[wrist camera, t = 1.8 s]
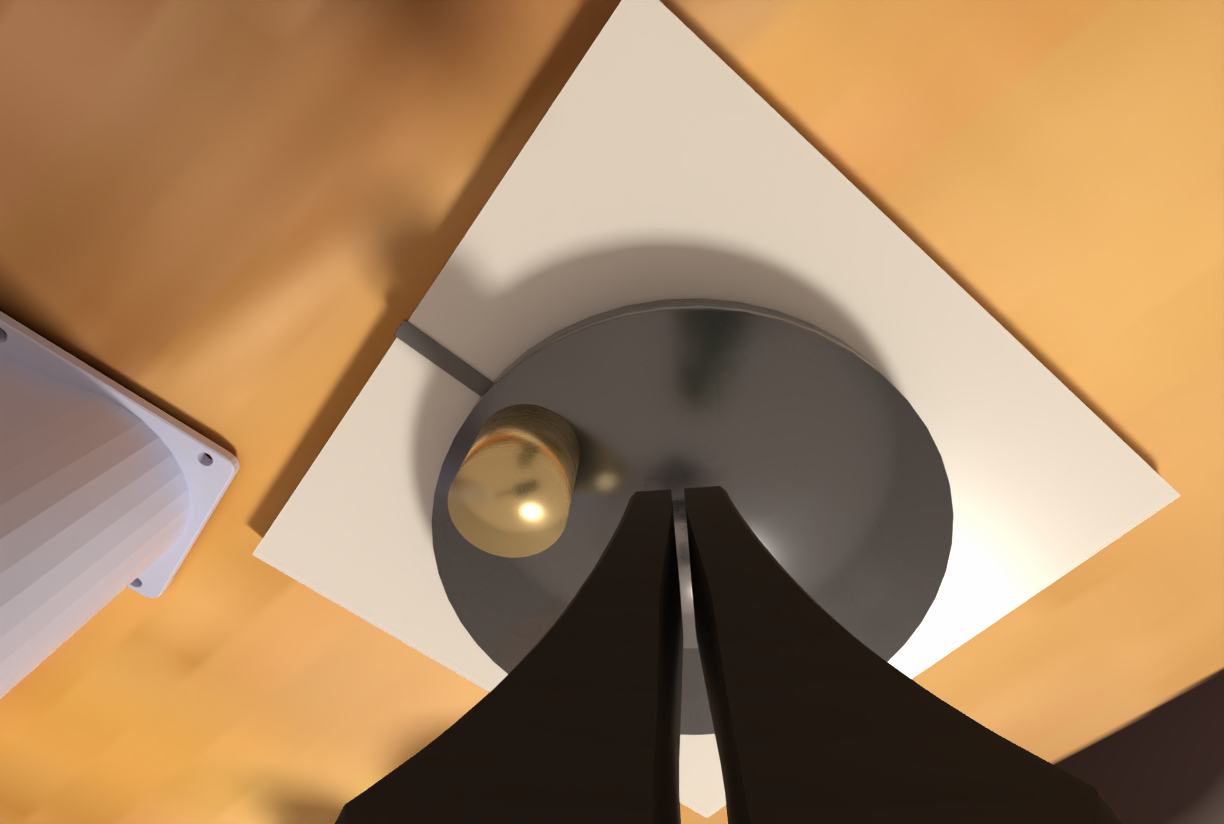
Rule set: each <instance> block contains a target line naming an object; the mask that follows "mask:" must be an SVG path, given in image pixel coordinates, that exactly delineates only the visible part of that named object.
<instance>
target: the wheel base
mask: <svg viewBox="0 0 1224 824" xmlns="http://www.w3.org/2000/svg"><path fill="white" fill-rule="evenodd" d="M695 298H704V299H714V300H725V301H736V302H742V303H747V304H751V305H755V306H760V307H764V308H769V309H773V310H777V311H779V312H782V313H785V314H787V315H790V316H793V317H796V318H798V319H801V320H804V321H806V322H809V323H811V324H813V325H815V326H817V327H819V328H820V329H822V330H824V331H826V332H828V333H830V334H832V335H833V336H835V337H837V338H839V339H841V340H842V341H844V342H845V343H846V344H848V345H849V346H850V347H852V348H853V349H855V350H856V351H857V352H859V353H860V354H861V355H863V356H864V357H865V358H867V359H868V360H869V361H870V362H871V363H872V364H873V365H874V366H875V367H876V368H877V369H878V370H879V371H880V372H881V373H882V374H883V375H884V376H885V377H886V378H887V379H888V380H889V381H890V382H891V383H892V384H893V385H894V386H895V387H896V388H897V389H898V390H899V391H900V393H901V394H902V395H903V396H904V397H905V398H906V399H907V400H908V401H909V403H910V404H911V406H912V407H913V408H914V410H915V411H916V413H917V414H918V415H919V417H920V418H921V419H922V421H923V422H924V424H925V425H926V426H927V428H928V430H929V432H930V434H931V436H932V438H933V440H934V442H935V444H936V446H937V448H938V450H939V452H940V454H941V456H942V460H943V463H944V466H945V470H946V473H947V477H948V480H949V483H950V488H951V497H952V506H953V514H954V517H953V536H952V547H951V551H950V556H949V560H948V565H947V569H946V573H945V575H944V578H943V581H942V583H941V586H940V588H939V591H938V593H937V596H936V598H935V600H934V602H933V604H932V605H931V607H930V609H929V611H928V612H927V614H926V616H925V618H924V619H923V621H922V623H921V624H920V625H919V627H918V628H917V629H916V631H915V632H914V633H913V635H912V636H911V637H910V638H909V640H908V641H907V642H906V644H905V645H904V646H903V647H902V648H901V649H900V650H899V651H898V652H897V653H896V654H895V655H894V656H893V657H892V658H891V659H890V660H889V661H888V663H889V664H891V665H892V666H894V667H895V668H896V669H898V670H899V671H901V672H902V673H903V674H905V675H906V676H908V677H909V678H910V679H912V678H914V677H915V676H916V675H918V674H919V673H921V672H922V671H924V670H925V669H927V668H928V667H930V666H931V665H933V664H934V663H936V662H937V661H938V660H940V659H941V658H943V657H944V656H946V655H947V654H949V653H950V652H952V651H953V650H955V649H956V648H958V647H959V646H961V645H962V644H963V643H965V642H966V641H968V640H969V639H971V638H972V637H974V636H975V635H977V634H978V633H980V632H981V631H983V630H984V629H986V628H987V627H988V626H990V625H991V624H993V623H994V622H996V621H997V620H999V619H1000V618H1002V617H1003V616H1005V615H1006V614H1008V613H1009V612H1011V611H1012V610H1013V609H1015V608H1016V607H1018V606H1019V605H1021V604H1022V603H1024V602H1025V601H1027V600H1028V599H1030V598H1031V597H1033V596H1034V595H1036V594H1037V593H1038V592H1040V591H1041V590H1043V589H1044V588H1046V587H1047V586H1049V585H1050V584H1052V583H1053V582H1055V581H1056V580H1058V579H1059V578H1060V577H1062V576H1063V575H1065V574H1066V573H1068V572H1069V571H1071V570H1072V569H1074V568H1075V567H1077V566H1078V565H1080V564H1081V563H1083V562H1084V561H1085V560H1087V559H1088V558H1090V557H1091V556H1093V555H1094V554H1096V553H1097V552H1099V551H1100V550H1102V549H1103V548H1105V547H1106V546H1108V545H1109V544H1110V543H1112V542H1113V541H1115V540H1116V539H1118V538H1119V537H1121V536H1122V535H1124V534H1125V533H1127V532H1128V531H1130V530H1131V529H1133V528H1134V527H1135V526H1137V525H1138V524H1140V523H1141V522H1143V521H1144V520H1146V519H1147V518H1149V517H1150V516H1152V515H1153V514H1155V513H1156V512H1157V511H1159V510H1160V509H1162V508H1163V507H1165V506H1166V505H1168V504H1169V503H1171V502H1172V501H1174V500H1175V499H1177V498H1178V497H1180V496H1181V495H1180V494H1179V493H1177V492H1176V491H1175V490H1174V489H1173V488H1172V487H1171V486H1170V485H1169V484H1168V483H1167V482H1166V481H1165V480H1164V479H1163V478H1162V477H1161V476H1160V475H1159V474H1157V473H1156V472H1155V471H1154V470H1153V469H1152V468H1151V467H1150V466H1149V465H1148V464H1147V463H1146V462H1145V461H1144V460H1143V459H1142V458H1141V457H1140V456H1139V455H1137V454H1136V453H1135V452H1134V451H1133V450H1132V449H1131V448H1130V447H1129V446H1128V445H1127V444H1126V443H1125V442H1124V441H1123V440H1122V439H1121V438H1120V437H1118V436H1117V435H1116V434H1115V433H1114V432H1113V431H1112V430H1111V429H1110V428H1109V427H1108V426H1107V425H1106V424H1105V423H1104V422H1103V421H1102V420H1101V419H1100V418H1098V417H1097V416H1096V415H1095V414H1094V413H1093V412H1092V411H1091V410H1090V409H1089V408H1088V407H1087V406H1086V405H1085V404H1084V403H1083V402H1082V401H1081V400H1080V399H1078V398H1077V397H1076V396H1075V395H1074V394H1073V393H1072V392H1071V391H1070V390H1069V389H1068V388H1067V387H1066V386H1065V385H1064V384H1063V383H1062V382H1061V381H1060V380H1058V379H1057V378H1056V377H1055V376H1054V375H1053V374H1052V373H1051V372H1050V371H1049V370H1048V369H1047V368H1046V367H1045V366H1044V365H1043V364H1042V363H1041V362H1040V361H1038V360H1037V359H1036V358H1035V357H1034V356H1033V355H1032V354H1031V353H1030V352H1029V351H1028V350H1027V349H1026V348H1025V347H1024V346H1023V345H1022V344H1021V343H1020V342H1018V341H1017V340H1016V339H1015V338H1014V337H1013V336H1012V335H1011V334H1010V333H1009V332H1008V331H1007V330H1006V329H1005V328H1004V327H1003V326H1002V325H1001V324H999V323H998V322H997V321H996V320H995V319H994V318H993V317H992V316H991V315H990V314H989V313H988V312H987V311H986V310H985V309H984V308H983V307H982V306H981V305H979V304H978V303H977V302H976V301H975V300H974V299H973V298H972V297H971V296H970V295H969V294H968V293H967V292H966V291H965V290H964V289H963V288H962V287H961V286H959V285H958V284H957V283H956V282H955V281H954V280H953V279H952V278H951V277H950V276H949V275H948V274H947V273H946V272H945V271H944V270H943V269H942V268H941V267H939V266H938V265H937V264H936V263H935V262H934V261H933V260H932V259H931V258H930V257H929V256H928V255H927V254H926V253H925V252H924V251H923V250H922V249H921V248H919V247H918V246H917V245H916V244H915V243H914V242H913V241H912V240H911V239H910V238H909V237H908V236H907V235H906V234H905V233H904V232H903V231H902V230H900V229H899V228H898V227H897V226H896V225H895V224H894V223H893V222H892V221H891V220H890V219H889V218H888V217H887V216H886V215H885V214H884V213H883V212H882V211H880V210H879V209H878V208H877V207H876V206H875V205H874V204H873V203H872V202H871V201H870V200H869V199H868V198H867V197H866V196H865V195H864V194H863V193H862V192H860V191H859V190H858V189H857V188H856V187H855V186H854V185H853V184H852V183H851V182H850V181H849V180H848V179H847V178H846V177H845V176H844V175H843V174H842V173H840V172H839V171H838V170H837V169H836V168H835V167H834V166H833V165H832V164H831V163H830V162H829V161H828V160H827V159H826V158H825V157H824V156H823V155H822V154H820V153H819V152H818V151H817V150H816V149H815V148H814V147H813V146H812V145H811V144H810V143H809V142H808V141H807V140H806V139H805V138H804V137H803V136H802V135H800V134H799V133H798V132H797V131H796V130H795V129H794V128H793V127H792V126H791V125H790V124H789V123H788V122H787V121H786V120H785V119H784V118H783V117H781V116H780V115H779V114H778V113H777V112H776V111H775V110H774V109H773V108H772V107H771V106H770V105H769V104H768V103H767V102H766V101H765V100H764V99H763V98H761V97H760V96H759V95H758V94H757V93H756V92H755V91H754V90H753V89H752V88H751V87H750V86H749V85H748V84H747V83H746V82H745V81H744V80H743V79H741V78H740V77H739V76H738V75H737V74H736V73H735V72H734V71H733V70H732V69H731V68H730V67H729V66H728V65H727V64H726V63H725V62H724V61H723V60H721V59H720V58H719V57H718V56H717V55H716V54H715V53H714V52H713V51H712V50H711V49H710V48H709V47H708V46H707V45H706V44H705V43H704V42H703V41H701V40H700V39H699V38H698V37H697V36H696V35H695V34H694V33H693V32H692V31H691V30H690V29H689V28H688V27H687V26H686V25H685V24H684V23H682V22H681V21H680V20H679V19H678V18H677V17H676V16H675V15H674V14H673V13H672V12H671V11H670V10H669V9H668V8H667V7H666V6H665V5H664V4H662V3H661V2H660V1H659V0H621V2H620V3H619V5H618V6H617V8H616V9H615V11H614V12H613V14H612V15H611V17H610V18H609V20H608V21H607V23H606V24H605V26H604V27H603V29H602V30H601V32H600V33H599V35H598V36H597V38H596V39H595V41H594V42H593V44H592V45H591V47H590V48H589V50H588V51H587V53H586V54H585V56H584V57H583V59H582V60H581V62H580V63H579V65H578V66H577V68H576V69H575V71H574V72H573V74H572V75H571V77H570V78H569V80H568V81H567V83H566V84H565V86H564V87H563V89H562V90H561V92H560V93H559V95H558V96H557V98H556V99H555V101H554V102H553V104H552V105H551V107H550V108H549V110H548V111H547V113H546V114H545V116H544V117H543V119H542V120H541V122H540V123H539V125H538V126H537V128H536V129H535V131H534V133H533V134H532V136H531V137H530V139H529V140H528V142H527V143H526V145H525V146H524V148H523V149H522V151H521V152H520V154H519V155H518V157H517V158H516V160H515V161H514V163H513V164H512V166H511V167H510V169H509V170H508V172H507V173H506V175H505V176H504V178H503V179H502V181H501V182H500V184H499V185H498V187H497V188H496V190H495V191H494V193H493V194H492V196H491V197H490V199H489V200H488V202H487V203H486V205H485V206H484V208H483V209H482V211H481V212H480V214H479V215H478V217H477V218H476V220H475V221H474V223H473V224H472V226H471V227H470V229H469V230H468V232H467V233H466V235H465V236H464V238H463V239H462V241H461V242H460V244H459V245H458V247H457V248H456V250H455V251H454V253H453V254H452V256H451V257H450V259H449V260H448V262H447V263H446V265H445V266H444V268H443V269H442V271H441V272H440V274H439V275H438V277H437V278H436V280H435V281H434V283H433V284H432V286H431V287H430V289H429V290H428V292H427V293H426V295H425V296H424V298H423V299H422V301H421V302H420V304H419V305H418V307H417V308H416V310H415V311H414V313H413V314H412V316H411V317H410V319H409V320H408V321H407V320H405V319H404V320H403V322H402V323H401V325H400V326H399V328H398V329H397V331H396V332H395V334H394V336H396V337H397V338H396V340H395V341H394V343H393V344H392V346H391V347H390V349H389V350H388V352H387V353H386V355H385V356H384V358H383V359H382V361H381V362H380V364H379V365H378V367H377V368H376V370H375V371H374V373H373V374H372V376H371V377H370V379H369V380H368V382H367V383H366V385H365V386H364V388H363V389H362V391H361V392H360V394H359V395H358V397H357V398H356V400H355V401H354V403H353V404H352V406H351V407H350V409H349V410H348V412H347V413H346V415H345V416H344V418H343V419H342V421H341V422H340V424H339V425H338V427H337V428H336V430H335V431H334V433H333V434H332V436H331V437H330V439H329V440H328V442H327V443H326V445H325V446H324V448H323V449H322V451H321V452H320V454H319V455H318V457H317V458H316V460H315V461H314V463H313V464H312V466H311V467H310V469H309V470H308V472H307V473H306V475H305V476H304V478H303V479H302V481H301V482H300V484H299V485H298V487H297V488H296V490H295V491H294V493H293V494H292V496H291V497H290V499H289V500H288V502H287V503H286V505H285V506H284V508H283V509H282V511H281V512H280V514H279V515H278V517H277V518H276V520H275V521H274V523H273V524H272V526H271V527H270V529H269V530H268V532H267V533H266V535H265V536H264V538H263V539H262V541H261V542H260V544H259V545H258V547H257V548H256V550H255V551H254V553H253V554H252V555H254V556H255V557H257V558H259V559H261V560H262V561H264V562H266V563H267V564H269V565H271V566H273V567H274V568H276V569H278V570H279V571H281V572H283V573H285V574H286V575H288V576H290V577H292V578H293V579H295V580H297V581H298V582H300V583H302V584H304V585H305V586H307V587H309V588H311V589H312V590H314V591H316V592H317V593H319V594H321V595H323V596H324V597H326V598H328V599H330V600H331V601H333V602H335V603H336V604H338V605H340V606H342V607H343V608H345V609H347V610H348V611H350V612H352V613H354V614H355V615H357V616H359V617H361V618H362V619H364V620H366V621H367V622H369V623H371V624H373V625H374V626H376V627H378V628H380V629H381V630H383V631H385V632H386V633H388V634H390V635H392V636H393V637H395V638H397V639H399V640H400V641H402V642H404V643H405V644H407V645H409V646H411V647H412V648H414V649H416V650H417V651H419V652H421V653H423V654H424V655H426V656H428V657H430V658H431V659H433V660H435V661H436V662H438V663H440V664H442V665H443V666H445V667H447V668H449V669H450V670H452V671H454V672H455V673H457V674H459V675H461V676H462V677H464V678H466V679H467V680H469V681H471V682H473V683H474V684H476V685H478V686H480V687H481V688H483V689H485V690H486V691H488V692H491V691H492V690H493V689H494V688H495V687H496V686H497V685H498V684H499V683H500V682H501V681H502V680H503V679H504V678H505V677H506V676H507V675H508V674H507V673H506V672H505V671H504V670H503V669H501V668H500V667H499V666H498V665H497V664H495V663H494V662H493V661H492V660H491V659H490V657H489V656H488V655H487V654H486V653H485V652H484V651H483V650H482V649H481V648H480V647H479V646H478V645H477V644H476V642H475V641H474V640H473V638H472V637H471V636H470V634H469V633H468V632H467V630H466V629H465V627H464V626H463V625H462V623H461V622H460V620H459V618H458V616H457V615H456V613H455V611H454V609H453V607H452V605H451V604H450V602H449V600H448V598H447V595H446V593H445V590H444V587H443V584H442V582H441V579H440V576H439V574H438V569H437V564H436V560H435V555H434V550H433V539H432V511H433V502H434V493H435V489H436V485H437V481H438V478H439V474H440V470H441V467H442V464H443V462H444V459H445V457H446V455H447V453H448V451H449V448H450V446H451V444H452V442H453V440H454V437H455V436H456V434H457V432H458V431H459V429H460V428H461V426H462V424H463V423H464V421H465V420H466V418H467V417H468V415H469V413H470V412H471V410H472V409H473V407H474V406H475V404H476V403H477V401H478V400H479V398H480V397H481V395H482V394H483V393H484V392H485V390H486V389H487V388H488V387H489V386H490V385H491V384H492V383H493V382H494V380H495V379H496V378H497V377H498V376H499V375H500V374H501V373H502V371H503V370H505V369H506V368H507V367H508V366H509V365H511V364H512V363H513V362H514V361H515V360H517V359H518V358H519V357H520V356H521V355H523V354H524V353H525V352H526V351H527V350H528V349H530V348H532V347H533V346H535V345H536V344H538V343H540V342H541V341H543V340H544V339H546V338H548V337H549V336H551V335H553V334H554V333H556V332H557V331H559V330H562V329H564V328H566V327H568V326H570V325H573V324H575V323H577V322H579V321H582V320H584V319H586V318H588V317H590V316H594V315H597V314H600V313H604V312H607V311H610V310H614V309H617V308H620V307H624V306H628V305H634V304H640V303H646V302H652V301H658V300H667V299H695ZM679 798H680V803H681V804H683V805H685V806H687V807H688V808H690V809H692V810H693V811H695V812H697V813H699V814H700V815H702V816H704V817H706V818H708V817H709V816H711V815H712V814H714V813H715V812H717V811H718V810H719V809H721V808H722V807H724V806H725V805H726V797H725V790H724V783H723V777H722V770H721V763H720V758H719V753H718V748H717V743H716V737H715V734H706V735H680V755H679Z"/></svg>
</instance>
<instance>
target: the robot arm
mask: <svg viewBox="0 0 1224 824" xmlns="http://www.w3.org/2000/svg"><path fill="white" fill-rule="evenodd" d="M2 329H3V330H4V331H5V332H6V334H7V335H6V334H5V333H4V332H3V330H2ZM205 453H207V454H209V455H210V456H211V457H212V459H213V460H212V459H209V458H208V457H207V456H206V454H205ZM238 470H239V462H238V460H237V458H236V457H235V456H234V455H233V454H232V453H230V452H229V451H227V450H225V449H224V448H222V447H221V446H219V445H217V444H216V443H214V442H212V441H211V440H209V439H208V438H206V437H204V436H203V435H201V434H199V433H198V432H196V431H195V430H193V429H191V428H190V427H188V426H186V425H185V424H183V423H182V422H180V421H178V420H177V419H175V418H173V417H172V416H170V415H169V414H167V413H165V412H164V411H162V410H160V409H159V408H157V407H156V406H154V405H152V404H151V403H149V402H147V401H146V400H144V399H143V398H141V397H139V396H138V395H136V394H134V393H133V392H131V391H130V390H128V389H126V388H125V387H123V386H121V385H120V384H118V383H116V382H115V381H113V380H112V379H110V378H108V377H107V376H105V375H103V374H102V373H100V372H99V371H97V370H95V369H94V368H92V367H90V366H89V365H87V364H86V363H84V362H82V361H81V360H79V359H77V358H76V357H74V356H73V355H71V354H69V353H68V352H66V351H64V350H63V349H61V348H60V347H58V346H56V345H55V344H53V343H51V342H50V341H48V340H47V339H45V338H43V337H42V336H40V335H38V334H37V333H35V332H34V331H32V330H30V329H29V328H27V327H25V326H24V325H22V324H21V323H19V322H17V321H16V320H14V319H12V318H11V317H9V316H7V315H6V314H4V313H3V312H1V311H0V699H1V698H2V697H3V696H4V695H5V694H7V693H8V692H9V691H10V690H11V689H12V688H13V687H14V686H16V685H17V684H18V683H19V682H20V681H21V680H22V679H23V678H25V677H26V676H27V675H28V674H29V673H30V672H31V671H32V670H34V669H35V668H36V667H37V666H38V665H39V664H40V663H41V662H43V661H44V660H45V659H46V658H47V657H48V656H49V655H50V654H52V653H53V652H54V651H55V650H56V649H57V648H58V647H59V646H61V645H62V644H63V643H64V642H65V641H66V640H67V639H68V638H70V637H71V636H72V635H73V634H74V633H75V632H76V631H78V630H79V629H80V628H81V627H82V626H83V625H84V624H85V623H87V622H88V621H89V620H90V619H91V618H92V617H93V616H94V615H96V614H97V613H98V612H99V611H100V610H101V609H102V608H103V607H105V606H106V605H107V604H108V603H109V602H110V601H111V600H112V599H114V598H115V597H116V596H117V595H118V594H119V593H120V592H121V591H123V590H124V589H125V588H126V587H128V588H130V589H132V590H134V591H136V592H138V593H139V594H141V595H143V596H145V597H148V598H156V597H159V596H160V595H161V594H162V593H163V592H164V591H165V590H166V589H167V587H168V586H169V584H170V582H171V581H172V579H173V578H174V576H175V574H176V573H177V571H178V569H179V568H180V566H181V564H182V563H183V561H184V559H185V558H186V556H187V554H188V553H189V551H190V549H191V548H192V546H193V544H194V543H195V541H196V539H197V538H198V536H199V535H200V533H201V531H202V530H203V528H204V526H205V525H206V523H207V521H208V520H209V518H210V516H211V515H212V513H213V511H214V510H215V508H216V506H217V505H218V503H219V501H220V500H221V498H222V496H223V495H224V493H225V492H226V490H227V488H228V487H229V485H230V483H231V482H232V480H233V478H234V477H235V475H236V473H237V472H238ZM684 496H685V508H686V521H687V533H688V546H689V558H690V571H691V583H692V595H693V606H694V618H695V629H696V639H697V644H698V649H699V654H700V660H701V665H702V670H703V675H704V680H705V686H706V691H707V696H708V701H709V706H710V712H711V717H712V722H713V727H714V732H715V737H716V743H717V748H718V753H719V758H720V763H721V770H722V777H723V783H724V790H725V797H726V807H727V816H728V824H1124V822H1123V821H1122V820H1121V819H1120V818H1119V816H1118V815H1117V814H1116V813H1115V812H1114V810H1113V809H1112V808H1111V807H1110V806H1109V804H1108V803H1107V802H1106V801H1105V799H1104V798H1103V797H1102V795H1101V794H1100V792H1099V791H1098V790H1097V789H1096V788H1095V787H1093V786H1091V785H1089V784H1087V783H1086V782H1084V781H1082V780H1080V779H1078V778H1076V777H1074V776H1072V775H1071V774H1069V773H1067V772H1065V771H1063V770H1061V769H1060V768H1058V767H1056V766H1054V765H1052V764H1051V763H1049V762H1047V761H1045V760H1043V759H1041V758H1040V757H1038V756H1036V755H1034V754H1032V753H1030V752H1029V751H1027V750H1025V749H1023V748H1021V747H1019V746H1018V745H1016V744H1014V743H1012V742H1010V741H1008V740H1007V739H1005V738H1003V737H1001V736H999V735H998V734H996V733H994V732H992V731H991V730H989V729H987V728H986V727H984V726H982V725H981V724H979V723H978V722H976V721H974V720H973V719H971V718H970V717H968V716H966V715H965V714H963V713H962V712H960V711H958V710H957V709H955V708H954V707H952V706H950V705H949V704H947V703H946V702H944V701H942V700H941V699H939V698H938V697H936V696H935V695H933V694H932V693H930V692H929V691H927V690H926V689H924V688H923V687H921V686H920V685H919V684H917V683H916V682H915V681H913V680H912V679H910V678H909V677H908V676H906V675H905V674H903V673H902V672H901V671H899V670H898V669H896V668H895V667H894V666H892V665H891V664H889V663H888V662H887V661H885V660H884V659H882V658H881V657H880V656H878V655H877V654H876V653H874V652H873V651H872V650H871V649H870V648H868V647H867V646H866V645H865V644H863V643H862V642H861V641H860V640H858V639H857V638H856V637H855V636H853V635H852V634H851V633H850V632H849V631H848V630H846V629H845V628H844V627H843V626H842V625H841V624H840V623H839V622H837V621H836V620H835V619H834V618H833V617H832V616H831V615H829V614H828V613H827V612H826V611H825V610H824V609H823V608H822V607H821V606H820V605H819V604H818V603H817V602H816V601H815V600H814V599H813V598H812V597H811V596H810V595H808V594H807V592H806V591H805V590H804V589H803V588H802V587H801V586H800V585H799V584H798V583H797V582H796V581H795V580H794V579H793V578H792V577H791V576H790V575H789V574H788V573H787V571H786V570H785V569H784V568H783V567H782V566H781V565H780V564H779V563H778V561H777V560H776V559H775V558H774V557H773V555H772V554H771V553H770V552H769V551H768V549H767V548H766V547H765V546H764V545H763V543H762V542H761V541H760V540H759V539H758V537H757V536H756V535H755V533H754V532H753V531H752V530H751V528H750V527H749V525H748V524H747V523H746V521H745V520H744V519H743V517H742V516H741V514H740V513H739V511H738V510H737V508H736V507H735V505H734V504H733V502H732V500H731V499H730V497H729V495H728V493H727V491H726V490H724V489H723V488H722V487H721V486H711V487H696V488H684ZM683 639H684V636H683V622H682V608H681V594H680V581H679V570H678V558H677V547H676V536H675V525H674V514H673V503H672V492H671V489H668V490H653V491H639V492H635V493H634V494H633V495H632V496H631V497H630V499H629V502H628V505H627V507H626V510H625V512H624V514H623V516H622V519H621V521H620V523H619V525H618V527H617V528H616V530H615V532H614V534H613V536H612V538H611V540H610V542H609V543H608V545H607V547H606V548H605V550H604V552H603V553H602V555H601V557H600V559H599V560H598V562H597V564H596V565H595V567H594V569H593V570H592V572H591V573H590V575H589V576H588V577H587V579H586V580H585V582H584V583H583V585H582V586H581V588H580V589H579V591H578V592H577V593H576V595H575V596H574V598H573V599H572V601H571V602H570V603H569V605H568V606H567V607H566V609H565V610H564V611H563V613H562V614H561V615H560V617H559V618H558V619H557V620H556V622H555V623H554V624H553V625H552V627H551V628H550V629H549V630H548V631H547V632H546V634H545V635H544V636H543V637H542V638H541V640H540V641H539V642H538V643H537V644H536V645H535V646H534V648H533V649H532V650H531V651H530V652H529V653H528V654H527V655H526V656H525V657H524V658H523V659H522V660H521V661H520V662H519V663H518V665H517V666H516V667H515V668H514V669H513V670H512V671H511V672H510V673H509V674H508V675H507V676H506V677H505V678H504V679H503V680H502V681H501V682H500V683H499V684H498V685H497V686H496V687H495V688H494V689H493V690H492V691H491V692H490V693H489V694H488V695H486V696H485V697H484V698H483V699H482V700H481V701H480V702H479V703H477V704H476V705H475V706H474V707H473V708H472V709H471V710H469V711H468V712H467V713H466V714H465V715H464V716H463V717H461V718H460V719H459V720H458V721H457V722H456V723H454V724H453V725H452V726H451V727H450V728H449V729H447V730H446V731H445V732H444V733H442V734H441V735H440V736H439V737H438V738H436V739H435V740H434V741H433V742H431V743H430V744H429V745H427V746H426V747H425V748H424V749H422V750H421V751H420V752H418V753H417V754H416V755H414V756H413V757H411V758H410V759H409V760H407V761H406V762H404V763H403V764H402V765H400V766H399V767H398V768H396V769H395V770H393V771H392V772H391V773H389V774H388V775H386V776H385V777H384V778H382V779H381V780H380V781H378V782H377V783H375V784H374V785H373V786H371V787H370V788H368V789H367V790H366V791H364V792H363V793H361V794H360V795H358V796H357V797H356V798H354V799H353V800H351V801H350V802H348V803H347V804H345V806H344V807H343V809H342V811H341V813H340V815H339V817H338V819H337V821H336V822H335V824H681V818H680V798H679V755H680V727H681V699H682V670H683Z"/></svg>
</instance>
